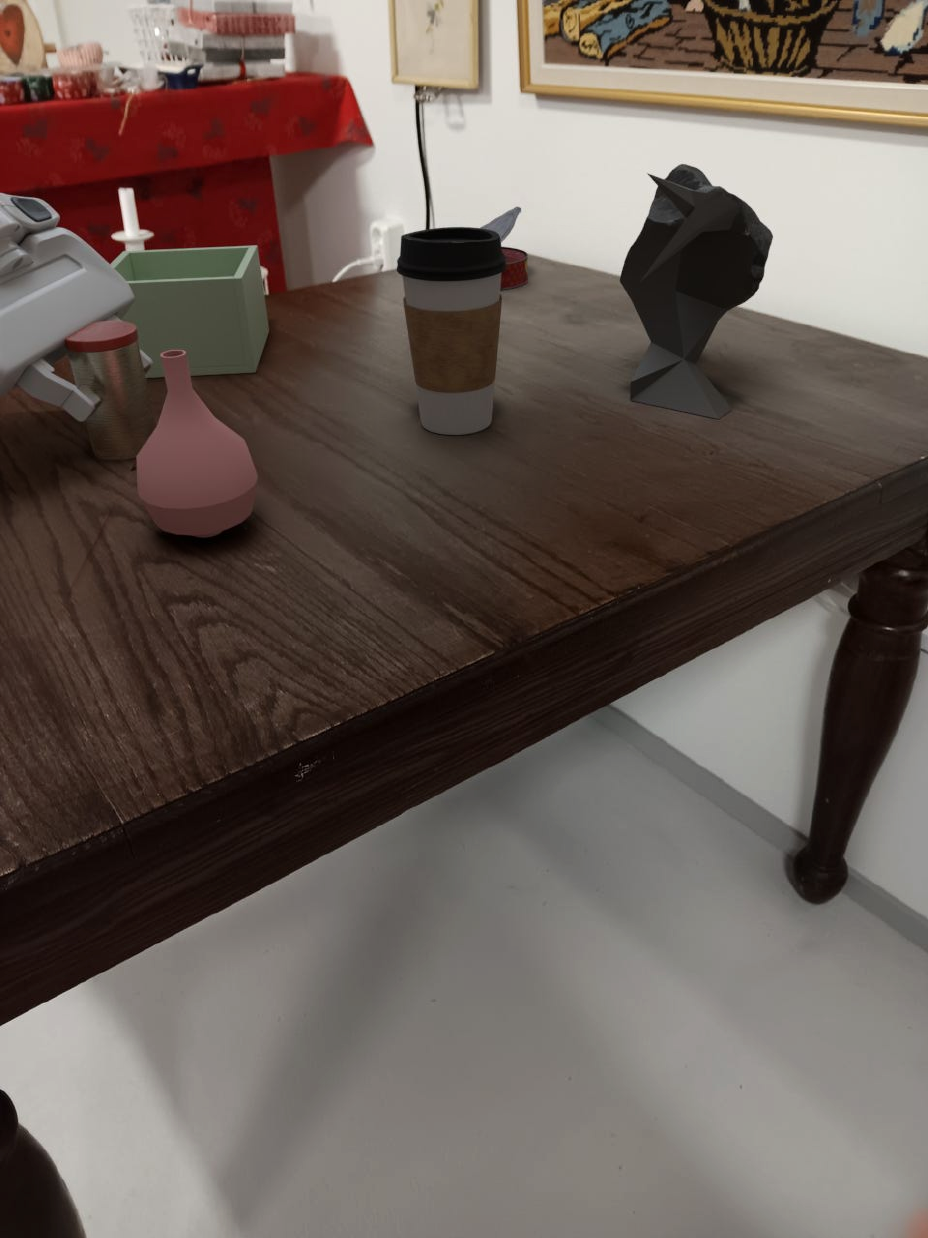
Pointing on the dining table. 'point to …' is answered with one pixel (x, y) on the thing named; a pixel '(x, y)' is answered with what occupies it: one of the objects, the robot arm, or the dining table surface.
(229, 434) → the pink vase
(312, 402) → the dining table surface
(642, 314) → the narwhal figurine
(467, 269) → the coffee cup
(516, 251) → the canned food
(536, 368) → the dining table surface
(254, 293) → the tote
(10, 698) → the dining table surface
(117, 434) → the spice tin
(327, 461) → the dining table surface
